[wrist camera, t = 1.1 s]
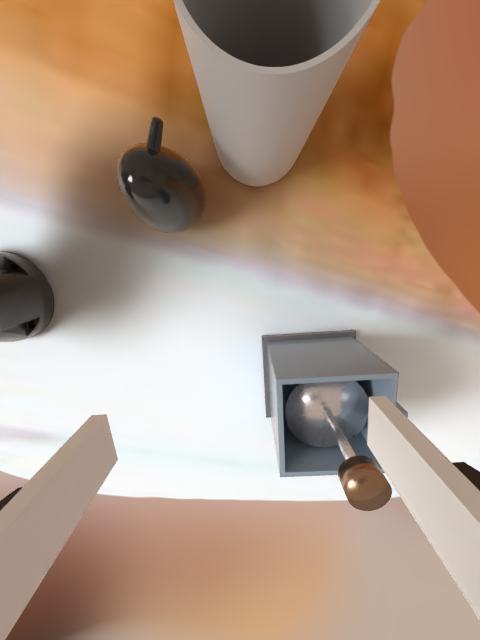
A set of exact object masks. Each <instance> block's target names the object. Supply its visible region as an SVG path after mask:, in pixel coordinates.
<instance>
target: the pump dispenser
mask: <svg viewBox="0 0 480 640" xmlns="http://www.w3.org/2000/svg"><path fill="white" fill-rule="evenodd" d="M162 131H163V121H162V120H161V119H160V118H158V117H153V118H152V121H151V126H150V130H149V135H148V139H147V143H139V144H135V145H132V146H131V147H129V148H127V149H126V150H125V151H124V152H123V153H122V155H121V156H120V158H119V161H118V164H117V181H118V185H119V188H120V191H121V193H122V195H123V197H124V199H125V201H126V202H127V204H128V206H129V207H130V208H131V210H132V211H133V212H134V213H135V214H136V215H137V216H138V217H139V218H140V219H141V220H142V221H143V222H145V223H146V224H147V225H149V226H150V227H152V228H154V229H156V230H158V231H161V232H165V233H179V232H183V231H185V230H187V229H189V228H191V227H192V226H193V225H194V224H195V223H196V222H197V221H198V220H199V218H200V217H201V215H202V213H203V210H204V207H205V201H206V193H205V187H204V183H203V180H202V178H201V176H200V174H199V173H198V171H197V169H196V168H195V167H194V166H193V165H192V163H191V162H190V161H188V160H187V159H186V158H185V157H184V156H183V155H181V154H180V153H178V152H177V151H175V150H173V149H171V148H169V147H167V146H164V145H161V141H162Z"/></svg>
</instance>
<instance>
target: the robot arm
mask: <svg viewBox="0 0 480 640" xmlns="http://www.w3.org/2000/svg"><path fill="white" fill-rule="evenodd" d="M53 309H54V300H53V294H52V291H51V288H50V286H49V283H48V282H47V280H46V278H45V277H44V275H43V274H42V273H41V271H40V270H39V269H38V268H37V267H36V266H35V265H33V264H32V263H31V262H30V261H28V260H27V259H25V258H23V257H21V256H19V255H16V254H13V253H9V252H2V251H0V342H14V341H19V340H23V339H26V338H29V337H31V336H34V335H36V334H38V333H40V332H41V331H42V330H44V329H45V327H46V326H47V325H48V324H49V322H50V320H51V318H52V314H53ZM367 445H368V447H369V448H370V450H371V452H372V453H373V455H374V456H375V458H376V459H377V461H378V462H379V464H380V466H381V467H382V469H383V470H384V472H385V473H386V475H387V476H388V478H389V480H390V481H391V483H392V484H393V486H394V487H395V489H396V490H397V492H398V494H399V495H400V497H401V498H402V500H403V501H404V503H405V504H406V506H407V508H408V509H409V511H410V512H411V514H412V515H413V517H414V519H415V520H416V522H417V523H418V525H419V526H420V528H421V529H422V531H423V532H424V534H425V536H426V537H427V539H428V540H429V542H430V543H431V545H432V547H433V548H434V550H435V551H436V553H437V554H438V556H439V557H440V559H441V560H442V562H443V563H444V565H445V567H446V568H447V570H448V571H449V573H450V574H451V576H452V578H453V579H454V581H455V582H456V584H457V585H458V587H459V589H460V590H461V592H462V593H463V594H464V596H465V598H466V600H467V601H468V602H469V604H470V606H471V607H472V609H473V610H474V612H475V614H476V615H477V617H478V618H479V620H480V472H479V471H478V470H476V469H474V468H473V467H471V466H469V465H468V464H466V463H465V462H457V463H451V462H450V461H449V460H448V459H447V458H446V457H445V456H444V455H443V454H442V452H441V451H440V450H439V449H438V448H437V447H436V446H435V445H434V444H433V443H432V442H431V441H430V440H429V439H428V438H427V437H426V436H425V435H424V434H423V433H422V432H421V431H420V430H419V429H418V428H417V427H416V426H415V425H414V424H413V423H412V422H411V421H410V420H409V419H408V418H407V417H406V416H405V415H404V414H403V413H402V412H401V411H400V410H399V409H398V408H397V407H396V406H395V405H394V404H393V403H392V402H391V401H390V400H389V399H388V398H387V397H386V396H374V397H369V411H368V435H367ZM117 460H118V459H117V455H116V451H115V447H114V443H113V439H112V435H111V431H110V427H109V423H108V419H107V415H92V416H91V417H90V418H89V419H88V420H87V421H86V422H85V423H84V424H83V425H82V426H81V427H80V428H79V429H78V430H77V431H76V432H75V433H74V435H73V436H72V437H71V438H70V439H69V440H68V441H67V442H66V443H65V444H64V445H63V446H62V447H61V448H60V449H59V450H58V451H57V452H56V453H55V454H54V455H53V456H52V457H51V459H50V460H49V461H48V462H47V463H46V464H45V465H44V466H43V467H42V468H41V469H40V470H39V471H38V472H37V473H36V474H35V475H34V476H33V477H32V478H31V479H30V480H29V481H28V483H27V484H26V485H25V486H24V487H21V488H17V489H16V490H15V491H13V492H12V493H11V494H9V495H8V496H6V497H5V498H4V499H2V500H1V501H0V640H5V639H6V637H7V636H8V634H9V633H10V631H11V629H12V628H13V626H14V625H15V623H16V621H17V620H18V618H19V617H20V615H21V613H22V612H23V610H24V609H25V607H26V605H27V604H28V602H29V601H30V599H31V597H32V596H33V594H34V593H35V591H36V589H37V588H38V586H39V585H40V583H41V581H42V580H43V578H44V577H45V575H46V573H47V572H48V570H49V569H50V566H51V565H52V563H53V562H54V561H55V559H56V557H57V556H58V554H59V553H60V551H61V549H62V548H63V546H64V545H65V543H66V541H67V540H68V538H69V536H70V535H71V533H72V532H73V530H74V529H75V527H76V525H77V524H78V522H79V520H80V519H81V517H82V516H83V514H84V513H85V511H86V509H87V508H88V506H89V505H90V503H91V501H92V500H93V498H94V496H95V495H96V493H97V492H98V490H99V489H100V487H101V485H102V484H103V482H104V481H105V479H106V477H107V476H108V474H109V473H110V471H111V469H112V468H113V466H114V465H115V463H116V461H117Z"/></svg>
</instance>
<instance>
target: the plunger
mask: <svg viewBox="0 0 480 640" xmlns="http://www.w3.org/2000/svg"><path fill="white" fill-rule="evenodd" d="M284 411H285V418H286V421H287V425H288V427H289V429H290V430H291V432H292V433H293V434H294V435H295V436H296V437H297V438H298V439H299V440H301V441H302V442H304V443H306V444H309V445H312V446H316V447H333V446H338V445H339V448H340V450H341V452H342V454H343V456H344V458H345V461H344V462H343V463H342V464H341V465H340V467H339V469H338V477H339V479H340V482H341V484H342V487H343V489H344V491H345V494H346V496H347V499H348V501H349V503H350V504H351V505H352V506H353V507H355V508H356V509H359V510H363V511H372V510H376V509H379V508H381V507H383V506H384V505H385V504H386V503H387V502H388V501H389V500H390V498H391V494H392V489H391V486H390V484H389V483H388V481H387V480H386V478H385V476H384V475H383V473H382V472H381V470H380V468H379V467H378V465H377V464H376V462H375V461H374V460H373V459H371V458H370V457H367V456H362V455H358V456H356V455H355V453H354V451H353V449H352V447H351V446H350V444H349V442H348V441H349V440H351V439H353V438H354V437H355V436H356V435H357V434H358V433H360V431H361V430H362V429H363V427H364V426H365V424H366V422H367V420H368V411H369V400H368V397H367V395H366V393H365V391H364V390H363V388H362V387H361V386H360V385H359V384H358V383H357V382H356V381H339V382H321V383H302V384H296V385H295V386H294V387H293V388H292V389H291V391H290V392H289V394H288V396H287V399H286V402H285V410H284Z"/></svg>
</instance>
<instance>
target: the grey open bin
mask: <svg viewBox="0 0 480 640" xmlns="http://www.w3.org/2000/svg"><path fill="white" fill-rule="evenodd" d="M355 339H356V331H355V330H345V331H329V332H313V333H297V334H281V335H265V336H262V349H263V367H264V386H265V404H266V418H267V417H271V420H272V427H273V433H274V440H275V446H276V453H277V460H278V466H279V473H280V477H294V476H320V475H338V469H339V467H340V465H341V464H342V463H343V462H344V461H345V458H344V456H343V454H342V452H341V450H340V448H339V445H338V446H333V447H316V446H312V445H309V444H306V443H304V442H302V441H301V440H299V439H298V438H297V437H296V436H295V435H294V434H293V433H292V432H291V430H290V429H289V427H288V425H287V421H286V418H285V411H284V410H285V402H286V399H287V396H288V394H289V392H290V391H291V389H292V388H293V387H294V386H295V385H296V384H302V383H321V382H339V381H356V382H357V383H358V384H359V385H360V386H361V387H362V388H363V390H364V391H365V393H366V395H367V397H368V400H369V397H374V396H386V397H387V398H388V399H389V400H390V401H391V402H392V403H393V404H394V405H395V406H396V407H397V408H398V409H399V410H400V411H401V412H402V413H403V414H404V415H405V416H406V417H407V415H408V413H407V412H406V411H405V410H404V409H403V408H402V407H401V406H400V405H399V404H398V403H397V402H396V397H397V386H398V375H399V373H398V372H397V371H396V370H394V369H393V368H392V367H390V366H389V365H388V364H386V363H385V362H384V361H383V360H381V359H380V358H379V357H377V356H376V355H375V354H374V353H372V352H371V351H370V350H368V349H367V348H366V347H364V346H363V345H362V344H361V343H359V342H358V341H357V340H355ZM367 435H368V420H367V422H366V424H365V426H364V427H363V429H362V430H361V431H360V433H358V434H357V435H356V436H355V437H354V438H353V439H351V440H349V441H348V442H349V444H350V446H351V447H352V449H353V451H354V453H355V455H356V456H358V455H362V456H367V457H370V458H371V459H373V460H374V461H375V462H376V464H377V465H378V467H379V468H380V470H381V472H382V473H385V472H384V470H383V469H382V467H381V466H380V464H379V462H378V461H377V459H376V458H375V456H374V455H373V453H372V452H371V450H370V448H369V447H368V445H367Z"/></svg>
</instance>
